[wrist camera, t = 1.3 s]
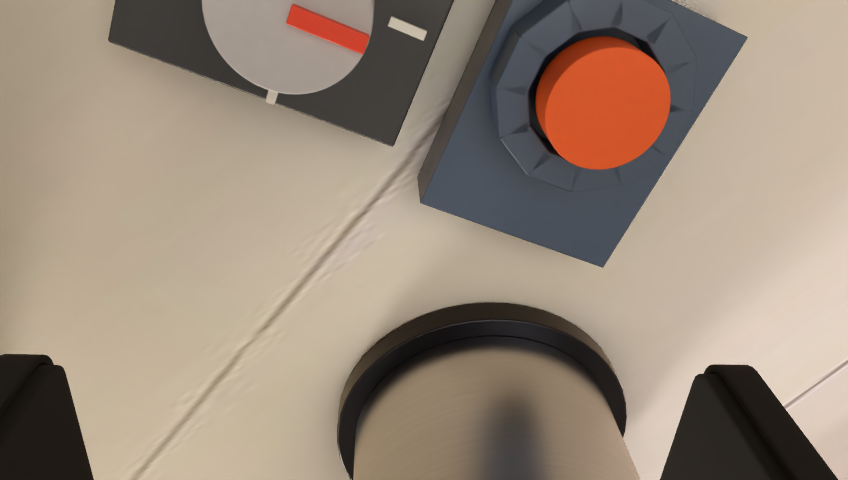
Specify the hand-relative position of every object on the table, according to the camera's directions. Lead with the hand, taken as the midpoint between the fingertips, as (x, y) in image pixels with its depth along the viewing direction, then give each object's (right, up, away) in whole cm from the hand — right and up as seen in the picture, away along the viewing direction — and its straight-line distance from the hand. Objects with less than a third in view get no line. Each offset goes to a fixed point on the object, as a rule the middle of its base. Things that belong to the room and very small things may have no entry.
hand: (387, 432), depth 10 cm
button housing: (+6, +9, +19) cm, 22 cm away
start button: (+7, +8, +14) cm, 18 cm away
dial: (-4, +12, +13) cm, 18 cm away
